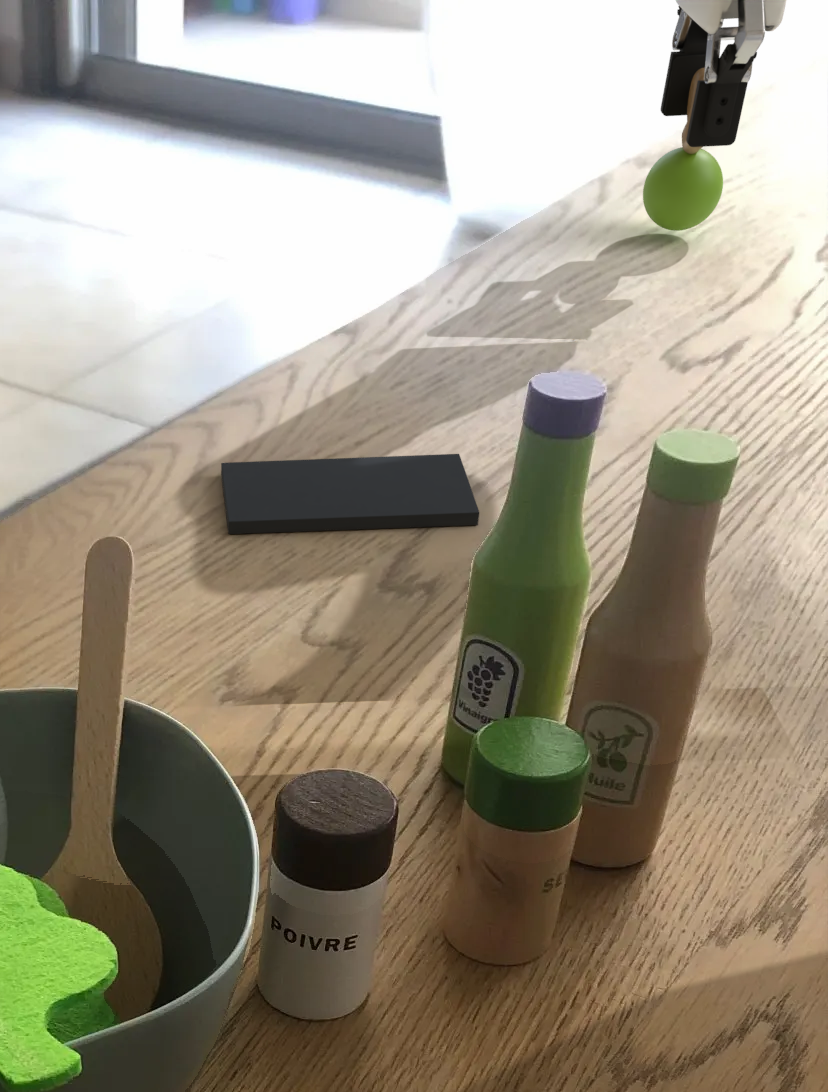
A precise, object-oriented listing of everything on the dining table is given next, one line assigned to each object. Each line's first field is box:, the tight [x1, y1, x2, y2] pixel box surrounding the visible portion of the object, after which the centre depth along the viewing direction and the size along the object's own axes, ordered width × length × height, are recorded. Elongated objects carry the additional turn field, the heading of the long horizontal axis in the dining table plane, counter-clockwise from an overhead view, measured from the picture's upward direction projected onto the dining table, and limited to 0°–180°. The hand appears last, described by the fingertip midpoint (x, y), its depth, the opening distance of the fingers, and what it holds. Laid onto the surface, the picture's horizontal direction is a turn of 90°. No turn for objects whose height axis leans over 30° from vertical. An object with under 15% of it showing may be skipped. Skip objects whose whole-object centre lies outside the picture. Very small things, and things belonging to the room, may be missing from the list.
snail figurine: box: [642, 68, 724, 232], centre depth 115 cm, size 5×6×12 cm
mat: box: [220, 453, 480, 535], centre depth 94 cm, size 14×7×1 cm, turn 90°
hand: (696, 126), depth 114 cm, fingers closed on snail figurine, 6 cm apart
